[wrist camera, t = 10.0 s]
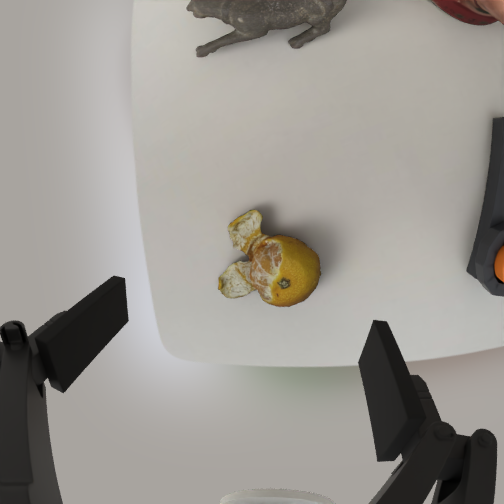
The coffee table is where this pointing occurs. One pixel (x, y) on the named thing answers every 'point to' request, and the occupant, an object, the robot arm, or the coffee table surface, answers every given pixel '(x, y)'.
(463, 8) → the decorative planter
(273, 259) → the fruit
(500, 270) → the button
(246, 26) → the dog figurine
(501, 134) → the scale
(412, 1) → the coffee table surface
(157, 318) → the coffee table surface
